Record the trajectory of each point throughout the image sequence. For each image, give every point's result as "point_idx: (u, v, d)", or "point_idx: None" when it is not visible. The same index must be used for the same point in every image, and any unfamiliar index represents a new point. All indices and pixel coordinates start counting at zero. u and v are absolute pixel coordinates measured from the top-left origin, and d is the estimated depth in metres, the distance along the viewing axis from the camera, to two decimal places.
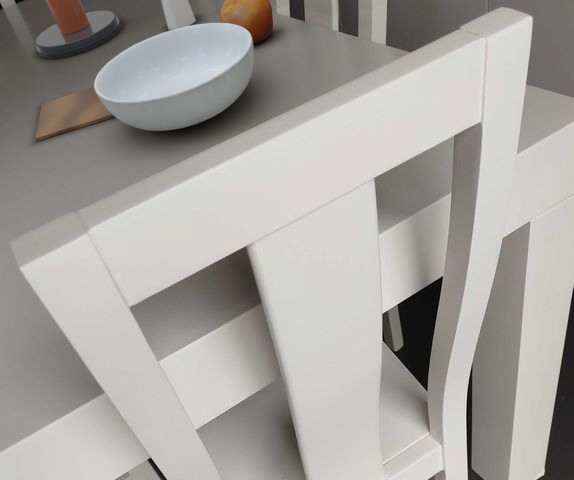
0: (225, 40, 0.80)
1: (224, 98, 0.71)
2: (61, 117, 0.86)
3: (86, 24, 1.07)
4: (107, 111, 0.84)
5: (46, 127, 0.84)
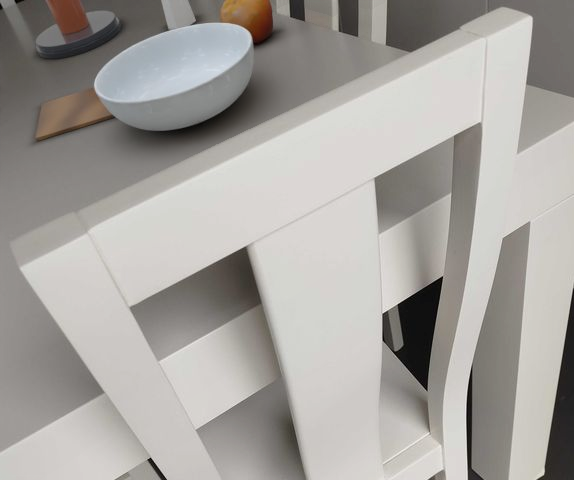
0: (225, 40, 0.80)
1: (224, 98, 0.71)
2: (61, 117, 0.86)
3: (86, 24, 1.07)
4: (107, 111, 0.84)
5: (46, 127, 0.84)
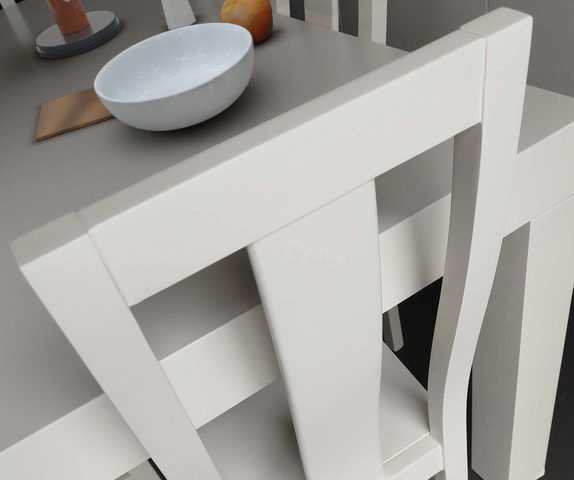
0: (225, 40, 0.80)
1: (224, 98, 0.71)
2: (61, 117, 0.86)
3: (86, 24, 1.07)
4: (107, 111, 0.84)
5: (46, 127, 0.84)
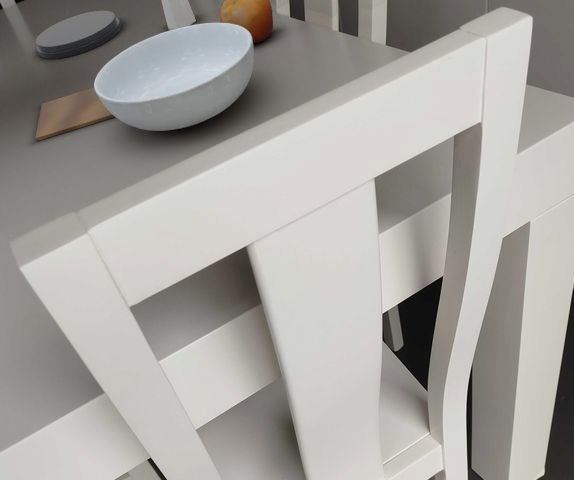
0: (225, 40, 0.80)
1: (224, 98, 0.71)
2: (61, 117, 0.86)
3: None
4: (107, 111, 0.84)
5: (46, 127, 0.84)
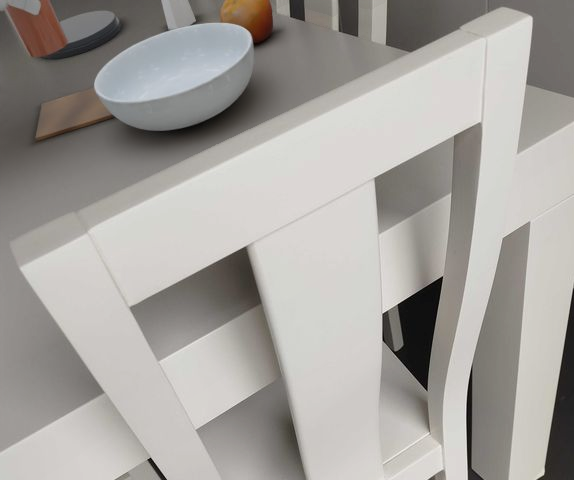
0: (225, 40, 0.80)
1: (224, 98, 0.71)
2: (61, 117, 0.86)
3: (63, 44, 0.79)
4: (107, 111, 0.84)
5: (46, 127, 0.84)
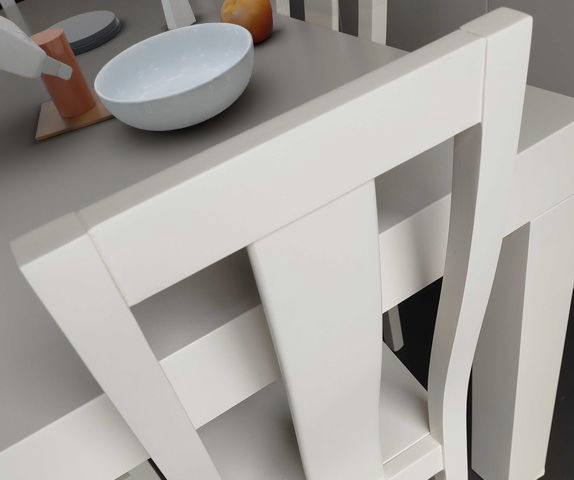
0: (225, 40, 0.80)
1: (224, 98, 0.71)
2: (61, 117, 0.86)
3: (91, 105, 0.85)
4: (107, 111, 0.84)
5: (46, 127, 0.84)
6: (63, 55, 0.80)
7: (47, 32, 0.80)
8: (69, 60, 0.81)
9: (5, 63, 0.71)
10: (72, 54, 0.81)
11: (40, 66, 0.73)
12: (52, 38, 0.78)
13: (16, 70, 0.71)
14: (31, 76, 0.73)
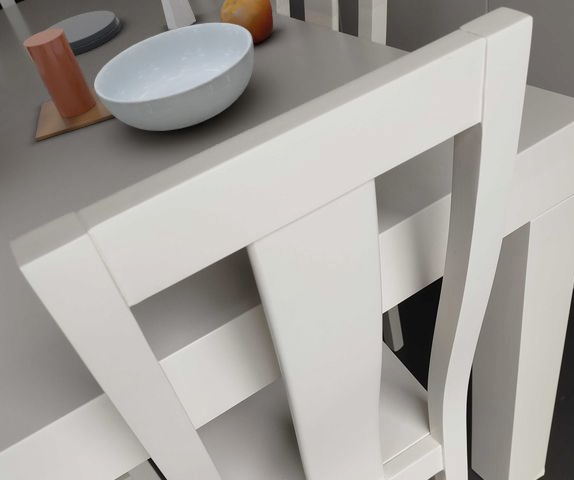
0: (225, 40, 0.80)
1: (224, 98, 0.71)
2: (61, 117, 0.86)
3: (91, 105, 0.85)
4: (107, 111, 0.84)
5: (46, 127, 0.84)
6: (63, 55, 0.80)
7: (47, 32, 0.80)
8: (69, 60, 0.81)
9: None
10: (72, 54, 0.81)
11: None
12: (52, 38, 0.78)
13: None
14: None
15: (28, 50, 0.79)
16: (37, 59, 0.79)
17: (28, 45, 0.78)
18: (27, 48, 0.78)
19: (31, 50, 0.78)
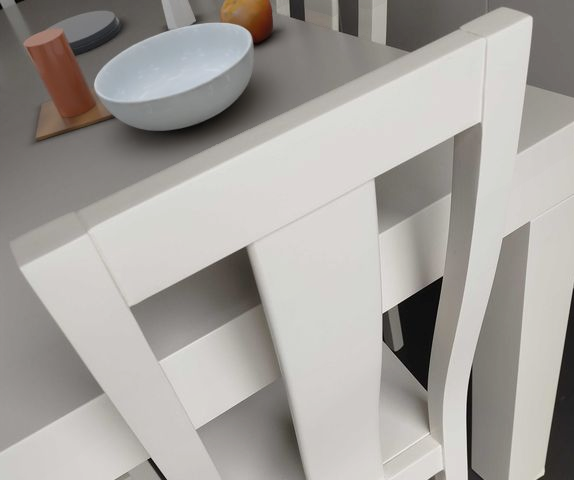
0: (225, 40, 0.80)
1: (224, 98, 0.71)
2: (61, 117, 0.86)
3: (91, 105, 0.85)
4: (107, 111, 0.84)
5: (46, 127, 0.84)
6: (63, 55, 0.80)
7: (47, 32, 0.80)
8: (69, 60, 0.81)
9: None
10: (72, 54, 0.81)
11: None
12: (52, 38, 0.78)
13: None
14: None
15: (28, 50, 0.79)
16: (37, 59, 0.79)
17: (28, 45, 0.78)
18: (27, 48, 0.78)
19: (31, 50, 0.78)
